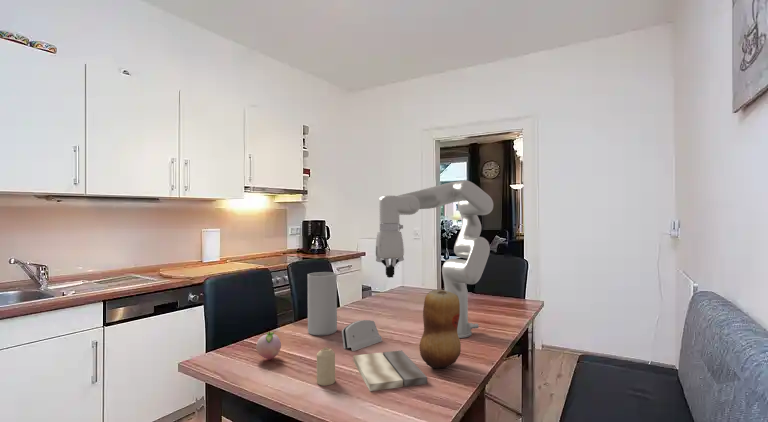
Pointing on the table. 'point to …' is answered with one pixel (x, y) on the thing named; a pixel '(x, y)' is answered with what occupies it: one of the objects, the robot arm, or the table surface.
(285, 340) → the table surface
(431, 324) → the butternut squash
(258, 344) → the decorative fruit
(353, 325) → the grey flat curved part
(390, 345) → the table surface
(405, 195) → the robot arm
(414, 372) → the floor board
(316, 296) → the cylinder vase
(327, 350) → the candle
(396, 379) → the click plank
